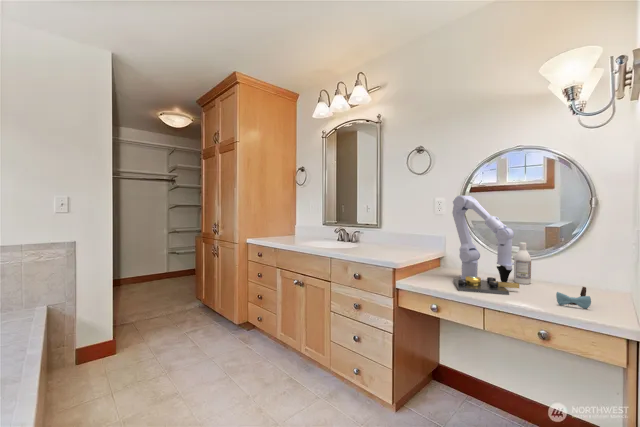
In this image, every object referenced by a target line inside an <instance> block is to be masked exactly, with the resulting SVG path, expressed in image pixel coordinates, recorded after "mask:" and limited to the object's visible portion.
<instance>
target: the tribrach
mask: <svg viewBox="0 0 640 427" xmlns="http://www.w3.org/2000/svg"><path fill="white" fill-rule="evenodd" d="M486 278H487V279H486V280H484V279H483V280H482V278H481V277H479V276H477V277H476V276H466V279H461V278H458V277H457V278H453V279H452V280H453V283H454V285H455V287H456V288H457V289H456V290H457V291H458V292H471V293H481V294H494V295H506V296H507V295H508V296H509V295H510V290H508V289H507V287H491V286H489V281H497V282H499V281H498V280H497V278H496V277H492V276H490V277H486Z"/></svg>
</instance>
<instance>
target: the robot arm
mask: <svg viewBox="0 0 640 427" xmlns="http://www.w3.org/2000/svg"><path fill="white" fill-rule="evenodd" d="M453 199H454V200H453V201H452V204H453V207H452V212H451V214H452V217H453V220H454V224H455V228H456V231H457V235H458V239H459V242H460V247H459V259H460V261H461V274H460V275H459V279H466V276H476V277H478V269H479V268H478V263H479V262H478V261H479V260H480V258H481V253H480V251H479V250H478V248H477V246H476V245H475V243H473V240H472V236H471V233H470V230H469V227H468V224H467V223H468V222H467V219H466V216H465V214H466V213H467V211H468V210H473V211H474V212H475V213H476V214H477V215H478V216H480V217H481V218H482V219H483V220H484V223H485V224H484V225H486V226H487V228H489V229H490V230H491V231H492V232H493V234H495V238H496V240H497V252H496V253H497V256H496V257H497V260H496V261H497V262H496V269H497V271H498V274H499V278H500V282H508V280H509V276H510V274H511V272H513V266H514V262H513V261H512V259H513V258H512V256H513V254H512V253H513V238H514V237H515V232H514V230H513V229H512V227H508V225H507V224H504V223H503V222H502V221H501V220H500V218H499V217H498V216H496V215H491V214H490V213H489V212H488V211H487V210H486V209H485V208H484V207H483V206H482V205H481V204H480V203H479V200H477V199H476V198H474V196H472V195H470V194H469V195H461V194H459V195H457V196H456V197H454V198H453Z"/></svg>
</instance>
